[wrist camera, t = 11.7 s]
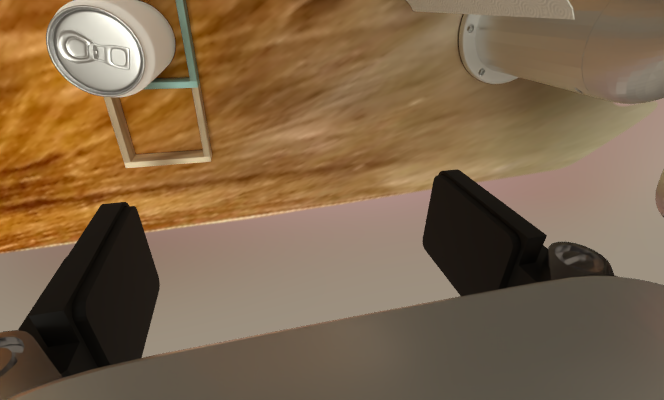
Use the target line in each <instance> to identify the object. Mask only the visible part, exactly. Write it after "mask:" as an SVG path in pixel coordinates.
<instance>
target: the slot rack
mask: <svg viewBox="0 0 664 400" xmlns="http://www.w3.org/2000/svg"><path fill="white" fill-rule="evenodd" d="M73 1H74V0H73ZM176 6H177V11H178V16H179V22H180V27H181V33H182V38H183V44H184V49H185V54H186V60H187V65H188V71H189V76H190V77H185V78H155V79H154V80H153V81H152V82H151V83H150V84H148V85H147V86H146V87H145V88H144V89H168V88H192V92H193V98H194V103H195V109H196V114H197V120H198V125H199V131H200V136H201V141H202V147H203V150H193V151H179V152H165V153H151V154H137V155H136V154H135V151H134V147H133V144H132V140H131V137H130V134H129V130H128V127H127V123H126V120H125V116H124V113H123V110H122V106H121V103H120V99H119V97H104V100H105V103H106V106H107V109H108V113H109V116H110V119H111V122H112V125H113V129H114V132H115V135H116V138H117V141H118V144H119V148H120V151H121V154H122V157H123V160H124V164H125V167H126V168H134V167H147V166H159V165H172V164H185V163H198V162H211V158H212V151H211V145H210V139H209V134H208V128H207V122H206V116H205V110H204V104H203V98H202V93H201V87H200V81H199V75H198V69H197V63H196V58H195V52H194V46H193V40H192V34H191V28H190V22H189V17H188V11H187V5H186V0H176Z"/></svg>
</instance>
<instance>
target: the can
mask: <svg viewBox="0 0 664 400" xmlns="http://www.w3.org/2000/svg"><path fill="white" fill-rule="evenodd" d="M46 44H47V49H48V53H49V55H50V58H51V60H52V62H53V64H54V65H55V67H56V68H57V70H58V71H59V72H60V73H61V74H62V75H63V76H64V77H65V78H66V79H67V80H68V81H69V82H70V83H72V84H73V85H74V86H76V87H78V88H79V89H81V90H83V91H85V92H88V93H90V94H93V95H97V96H103V97H126V96H130V95H133V94H135V93H137V92H139V91H141V90H142V89H144V88H145V87H146V86H147V85H148V84H150V83H151V82H152V81H153V80H154V79H155V78H156V77H157V76H158V75H159V74H160V73H161V72H162V71H163V70H164V69H165V68H166V67H167V66H168V65H169V64H170V62H171V61H172V59H173V56H174V53H175V46H176V45H175V37H174V33H173V30H172V28H171V26H170V24H169V23H168V21H167V20H166V18H165V17H164V16H163V15H162V14H161V13H160V12H159V11H158V10H157V9H155V8H154V7H152V6H151V5H149V4H147V3H145V2H142V1H139V0H74V1H71V2H69V3H67V4H66V5H64V6H63V7H61V8H60V9H59V10H58V12H57V13H56V14H55V16H54V17H53V19H52V20H51V22H50V23H49V26H48V29H47V33H46Z"/></svg>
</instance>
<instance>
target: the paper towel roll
mask: <svg viewBox="0 0 664 400" xmlns="http://www.w3.org/2000/svg"><path fill="white" fill-rule="evenodd" d="M406 1H407V2H408V3H409V4H410V6H411V8H412V10H413V11H417V12H436V13H455V14H474V15H494V16H513V17H532V18H552V19H571V20H574V19H575V17H574V11H573V7H572V5H571V4H570V2H569V0H406Z"/></svg>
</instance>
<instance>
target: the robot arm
mask: <svg viewBox="0 0 664 400" xmlns="http://www.w3.org/2000/svg"><path fill="white" fill-rule="evenodd" d="M569 2H570V4H571V5H572V7H573V11H574V17H575V19H574V20H571V19H552V18H532V17H513V16H494V15H474V14H464V15H463V18H462V22H461V26H460V31H459V51H460V56H461V59H462V62H463V64H464V66H465V68H466V70H467V71H468V72H469V73H470V74H471V75H472V76H473V77H475V78H476V79H478V80H480V81H483V82H485V83H490V84H503V83H507V82H510V81H513V80H515V79H517V78H519V77H520V78H523V79H527V80H531V81H535V82H539V83H542V84H546V85H550V86H554V87H557V88H561V89H565V90H569V91H573V92H576V93H580V94H584V95H588V96H591V97H595V98H599V99H604V100H608V101H612V102H616V103H625V104H636V103H645V102H651V101H654V100H658V99H662V98H664V0H569ZM655 200H656V205H657V208H658V210H659V212H660V214H661V215H662V216H663V217H664V170H663V172H662V174H661V177H660V180H659V182H658V185H657V189H656V198H655ZM545 239H546V235H545V234H544V233H543V232H541V231H540V230H539V229H537V228H536V227H535V226H533V225H532V224H531V223H529V222H528V221H527V220H525V219H524V218H523V217H521V216H520V215H519V214H517V213H516V212H515V211H513V210H512V209H511V208H509V207H508V206H506V205H505V204H504V203H503V202H501V201H500V200H499V199H497V198H496V197H495V196H493V195H492V194H490V193H489V192H488V191H486V190H485V189H484V188H482V187H481V186H480V185H478V184H477V183H476V182H474V181H473V180H472V179H470V178H469V177H468V176H466V175H465V174H464V173H462V172H461V171H460V170H448V171H441V172H440V173H439V175H438V176H436V177H435V178H434V182H433V187H432V193H431V199H430V203H429V209H428V214H427V219H426V225H425V230H424V235H423V246H424V248H425V250H426V251H427V253H428V254H429V255H430V257H431V258H432V259H433V261H434V262H435V263H436V264H437V266H438V267H439V268H440V269H441V271H442V272H443V273H444V275H445V276H446V277H447V279H448V280H449V281H450V282H451V284H452V285H453V286H454V288H455V289H456V290H457V291H458V293H459V294H460V297H455V298H449V299H444V300H439V301H433V302H428V303H422V304H417V305H412V306H406V307H401V308H395V309H390V310H386V311H380V312H374V313H369V314H364V315H359V316H353V317H348V318H343V319H338V320H332V321H327V322H322V323H317V324H312V325H306V326H301V327H296V328H291V329H286V330H280V331H275V332H271V333H265V334H260V335H255V336H250V337H245V338H240V339H234V340H229V341H224V342H219V343H214V344H209V345H204V346H199V347H194V348H189V349H183V350H178V351H174V352H168V353H163V354H158V355H153V356H149V357H145V358H141V357H142V353H143V350H144V346H145V342H146V338H147V334H148V330H149V327H150V323H151V319H152V315H153V311H154V308H155V304H156V300H157V296H158V292H159V278H158V274H157V271H156V268H155V265H154V261H153V258H152V255H151V252H150V249H149V246H148V243H147V239H146V236H145V233H144V230H143V227H142V223H141V220H140V217H139V214H138V211H137V209H136V207H135V206H131V207H129V205H128V203H126V202H120V203H110V204H102V205H101V206H100V208H99V209H98V211H97V212H96V214H95V215H94V217H93V218H92V220H91V221H90V223H89V224H88V226H87V227H86V229H85V230H84V232H83V234H82V235H81V237H80V238H79V240H78V241H77V243H76V244H75V246H74V248H73V249H72V250H71V252H70V253H69V255H68V256H67V257H66V258H65V259H64V261H63V263H62V264H61V266H60V267H59V269H58V270H57V272H56V273H55V275H54V276H53V278H52V279H51V281H50V282H49V284H48V285H47V287H46V289H45V290H44V291H43V293H42V294H41V296H40V297H39V299H38V300H37V302H36V304H35V305H34V307H33V308H32V310H31V311H30V313H29V314H28V316H27V317H26V319H25V320H24V322H23V323H22V325H21V326H20V328H19V330H12V331H4V332H0V400H664V285H661V284H657V283H653V282H649V281H644V280H639V279H632V278H623V277H618V276H614V273H613V270H612V267H611V265H610V263H609V262H608V260H606V259H605V258H604V257H603V256H602V255H601V254H599V253H598V252H596V251H594V250H592V249H590V248H588V247H586V246H583V245H580V244H576V243H571V242H556V243H552V244H551V245H550V246H549V248H548V249H547V248H546V247H545V246H543V243H544V241H545Z"/></svg>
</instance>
